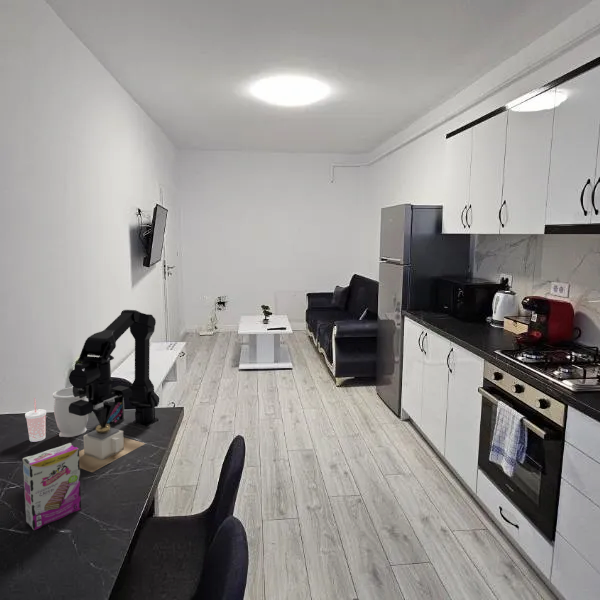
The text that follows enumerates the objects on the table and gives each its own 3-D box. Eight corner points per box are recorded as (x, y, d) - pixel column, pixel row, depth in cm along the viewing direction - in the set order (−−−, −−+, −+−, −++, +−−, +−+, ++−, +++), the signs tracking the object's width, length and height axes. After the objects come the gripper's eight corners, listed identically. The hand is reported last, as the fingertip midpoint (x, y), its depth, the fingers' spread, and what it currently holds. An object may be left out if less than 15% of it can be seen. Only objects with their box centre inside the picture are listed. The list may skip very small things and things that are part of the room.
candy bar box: (34, 532, 103) (29, 465, 101) (25, 523, 106) (20, 458, 104) (83, 509, 112) (79, 447, 109) (74, 501, 115) (70, 441, 112)
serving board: (114, 436, 151) (114, 434, 151) (145, 445, 145) (145, 443, 145) (59, 463, 134) (59, 460, 134) (92, 474, 128) (92, 472, 127)
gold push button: (105, 441, 143) (104, 421, 142) (117, 445, 140) (116, 424, 139) (90, 448, 138) (89, 427, 137) (102, 452, 136) (101, 431, 135)
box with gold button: (105, 443, 145) (105, 424, 144) (128, 450, 140) (127, 430, 139) (84, 454, 138) (83, 433, 137) (107, 462, 133) (106, 441, 132)
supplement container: (100, 425, 160) (99, 397, 158) (112, 418, 167) (111, 391, 165) (117, 427, 158) (115, 399, 157) (128, 420, 165) (127, 392, 163)
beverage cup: (41, 443, 146) (38, 401, 144) (22, 442, 146) (19, 401, 144) (51, 434, 152) (49, 395, 150) (34, 434, 152) (31, 394, 150)
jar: (64, 443, 146) (62, 399, 144) (50, 434, 152) (47, 392, 150) (96, 432, 154) (94, 390, 152) (81, 424, 160) (78, 384, 158)
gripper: (107, 365, 148) (109, 411, 150) (54, 382, 131) (57, 432, 134) (132, 370, 143) (134, 417, 145) (80, 388, 126) (83, 440, 129)
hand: (103, 426), depth 138 cm, fingers closed, pressing on gold push button
